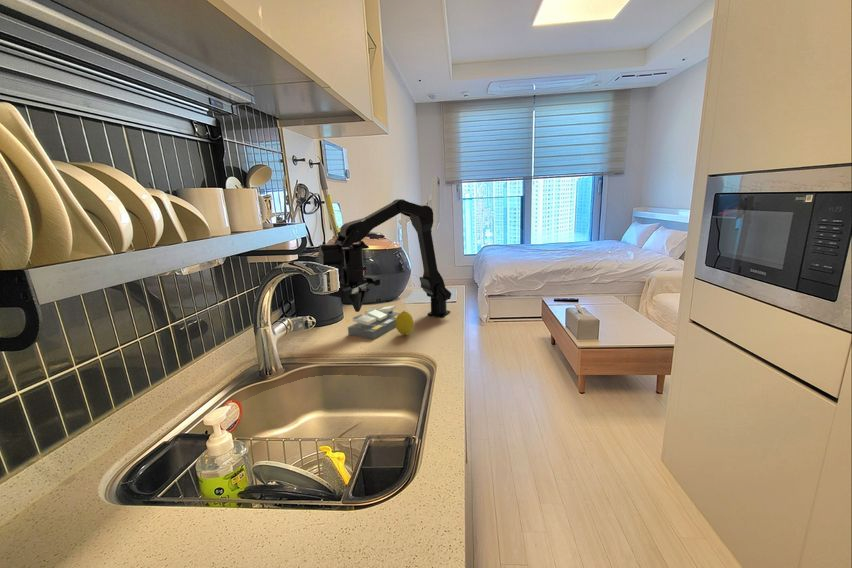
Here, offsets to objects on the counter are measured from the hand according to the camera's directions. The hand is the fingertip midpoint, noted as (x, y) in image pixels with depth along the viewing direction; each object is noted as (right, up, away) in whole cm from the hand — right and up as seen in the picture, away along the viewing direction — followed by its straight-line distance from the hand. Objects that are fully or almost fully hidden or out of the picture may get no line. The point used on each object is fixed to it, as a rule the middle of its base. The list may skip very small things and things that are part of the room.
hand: (357, 311), depth 117 cm
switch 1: (+2, -3, 0) cm, 4 cm away
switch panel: (+6, -6, +5) cm, 10 cm away
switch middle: (+5, -2, +5) cm, 7 cm away
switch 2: (+8, 0, +10) cm, 13 cm away
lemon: (+16, -7, -3) cm, 17 cm away
